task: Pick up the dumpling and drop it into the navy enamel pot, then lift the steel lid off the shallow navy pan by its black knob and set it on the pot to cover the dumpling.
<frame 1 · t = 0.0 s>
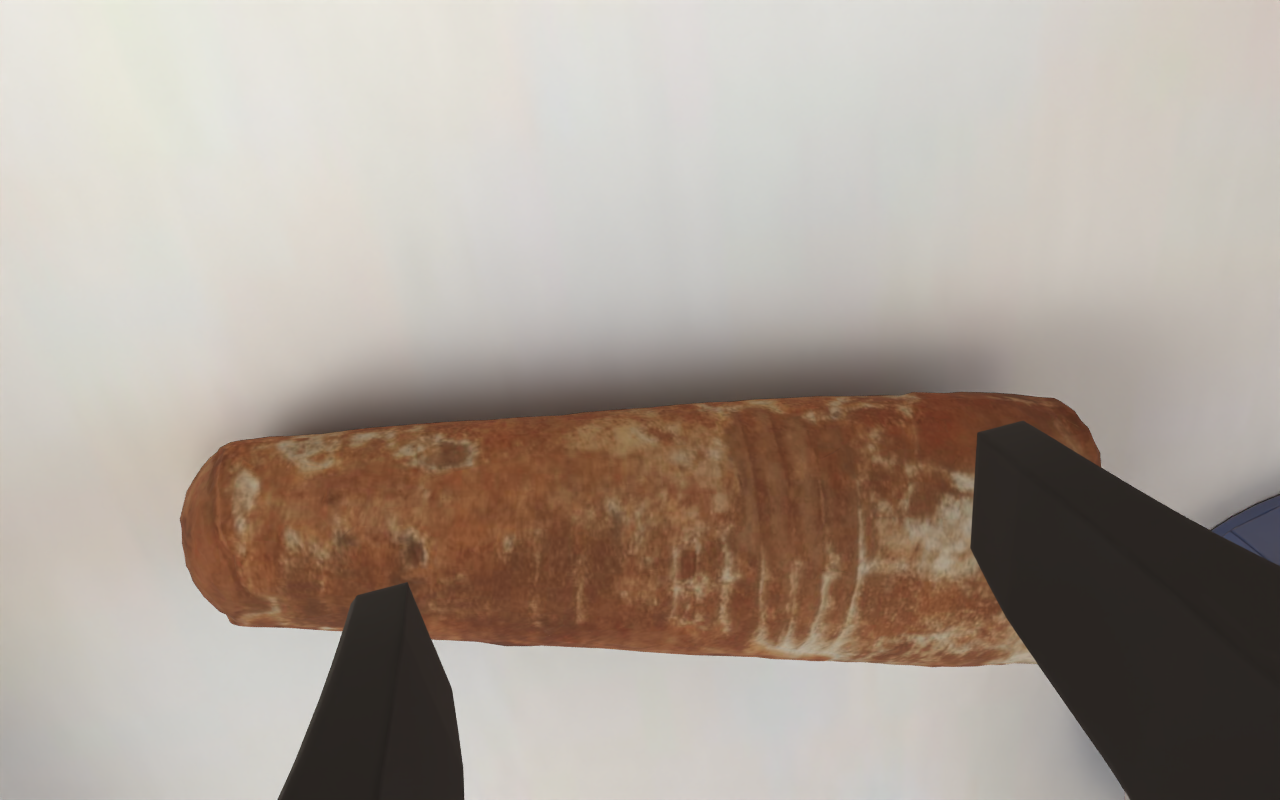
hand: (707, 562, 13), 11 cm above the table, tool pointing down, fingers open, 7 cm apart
pan: (1278, 652, 31), on the table
bread: (629, 491, 25), on the table
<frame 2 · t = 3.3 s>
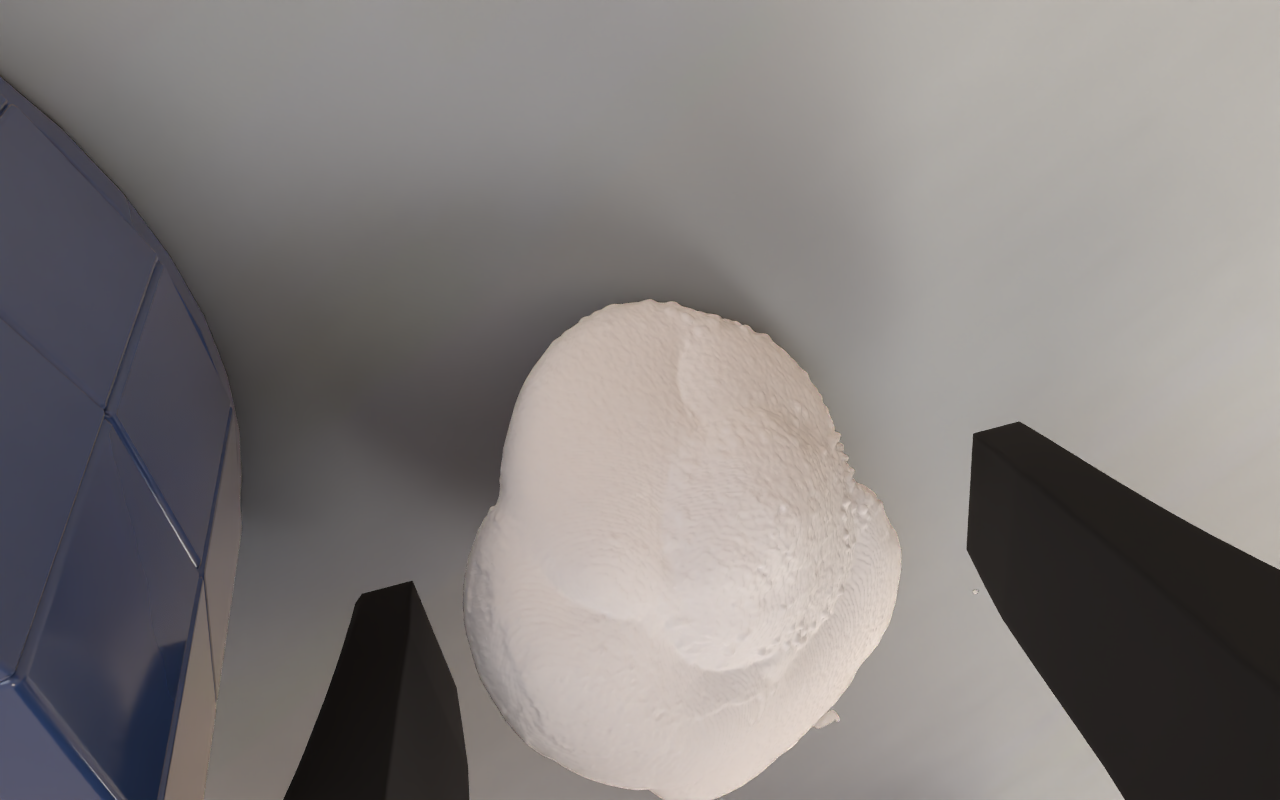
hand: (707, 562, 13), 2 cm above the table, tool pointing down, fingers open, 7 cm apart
dumpling: (669, 462, 15), on the table
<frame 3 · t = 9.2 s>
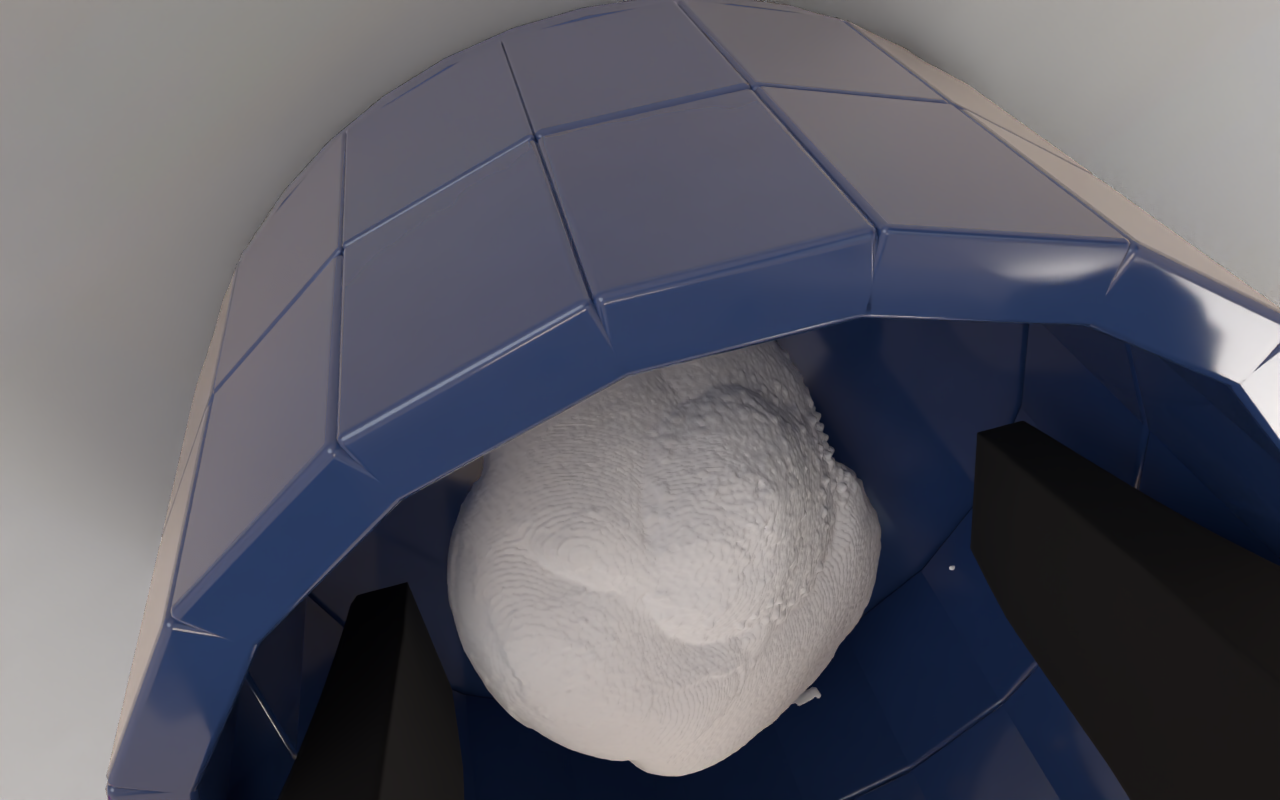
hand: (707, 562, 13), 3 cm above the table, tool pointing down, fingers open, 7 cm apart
pot: (658, 434, 15), on the table
dumpling: (653, 443, 15), resting on pot
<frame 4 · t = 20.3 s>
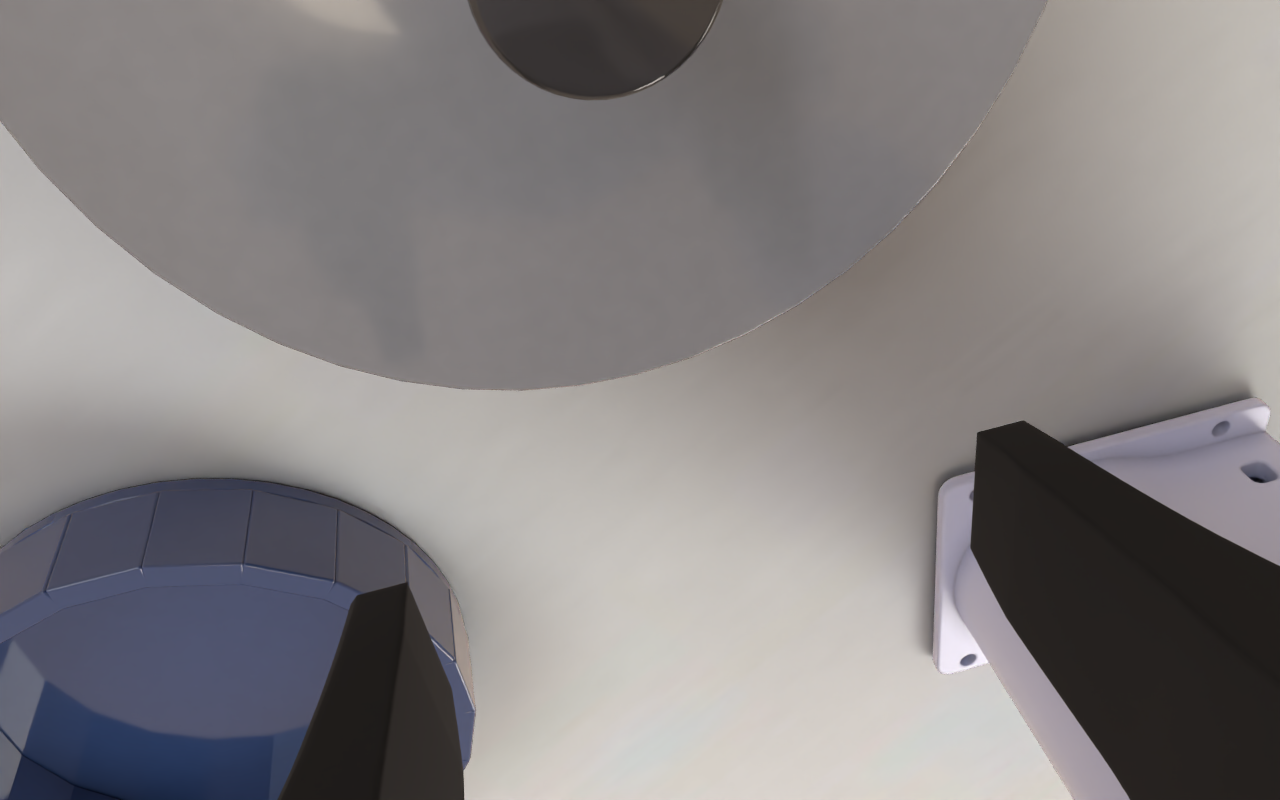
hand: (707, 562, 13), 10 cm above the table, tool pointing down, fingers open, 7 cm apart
pan: (225, 662, 26), on the table
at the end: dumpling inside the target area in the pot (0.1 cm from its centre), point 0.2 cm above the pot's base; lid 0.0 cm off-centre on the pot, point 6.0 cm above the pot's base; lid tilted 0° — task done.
